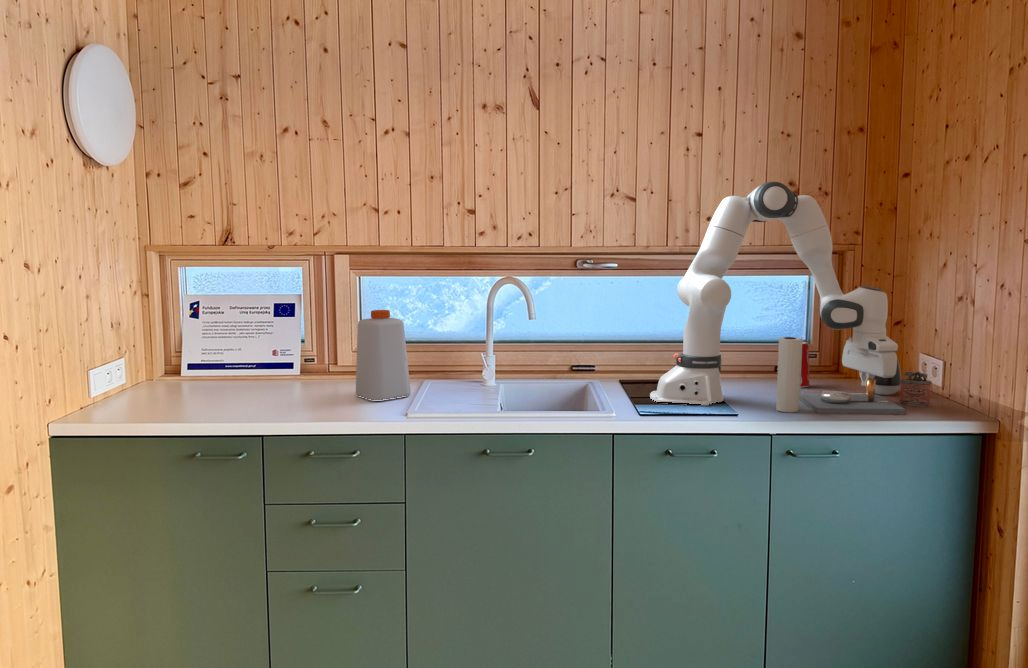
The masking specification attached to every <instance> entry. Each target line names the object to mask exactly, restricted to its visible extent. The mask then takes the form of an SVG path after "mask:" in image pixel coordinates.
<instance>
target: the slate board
mask: <svg viewBox="0 0 1028 668" xmlns="http://www.w3.org/2000/svg"><path fill="white" fill-rule="evenodd" d="M875 397H881V400H874V401H850V402H849V403H830V402H825V401H822V400H821V394H814V393H813V394H812V393H811V394H810V393H809V394H806V393H805V394H803V393H800V403H802V404H804V405H805V406H807V407H808V408H809V409H811V410H812V411H813V412H815V413H816V414H836V415H837V414H838V415H839V414H840V415H841V414H845V415H847V414H849V415H851V414H852V415H853V414H854V415H855V414H857V415H859V414H860V415H861V414H863V415H905V414H906V408H904V407H902V406H900V405H898V404H896V403H894V402H893V401H891V400H889V399H887V398H885V397H883V396H882V395H879V394H875Z"/></svg>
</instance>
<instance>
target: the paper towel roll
mask: <svg viewBox="0 0 1028 668" xmlns="http://www.w3.org/2000/svg"><path fill="white" fill-rule="evenodd" d="M803 338H804V337H803V336H802V337H793V336H783V337H779V338H778V353H777V354H778V355H777V356H778V357H777V379H776V402H775V405H776V407H775V410H776V411H779V412H783V413H797V412H798V411H799V410H800V404H801V401H800V394H801V388H800V383H801V361H802V342H803Z"/></svg>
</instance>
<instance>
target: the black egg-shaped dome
mask: <svg viewBox="0 0 1028 668" xmlns="http://www.w3.org/2000/svg"><path fill="white" fill-rule="evenodd" d="M902 378H903V377H902V371H901V366H900V362H899V359H898V357H897V368H896V374H895V375H894V377H891V378H883V377H879V376H876V375H875V377H874V380H876V382H875V395H879V396H891V395H894V394H896V393H897V392H898V391H899V390H900V388H901V379H902Z"/></svg>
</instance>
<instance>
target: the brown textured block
mask: <svg viewBox="0 0 1028 668" xmlns="http://www.w3.org/2000/svg"><path fill="white" fill-rule="evenodd" d="M903 376H906V377H907V378H905V377H904V378H903V377H901V378H902V379H901V385H900V395H899V402H898V404H899V405H903V406H904V405H905V406H912V407H913V406H914V407H923V408H925V407H926V408H929V407H931V402H930V400H931V399H930V398H931V387H932V383H933V382H932V380H929V379H928V373H924V372H923V373H921V371H915V372H913V371H909V370H907V371H906V370H905V371H904V372H903ZM912 377H913V378H912Z"/></svg>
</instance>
